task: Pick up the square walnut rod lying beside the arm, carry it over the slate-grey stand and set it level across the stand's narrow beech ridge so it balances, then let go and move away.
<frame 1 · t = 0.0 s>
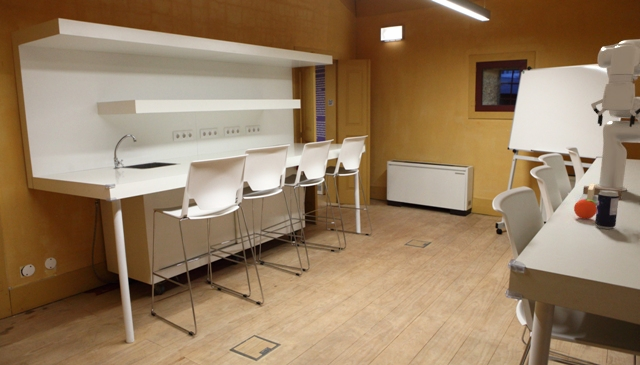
hand: (615, 126, 174), 31 cm above the table, tool pointing down, fingers open, 9 cm apart
walnut rod: (601, 197, 199), on the table
ridge stand: (590, 200, 190), on the table
beverage can: (604, 227, 151), on the table
tomato: (585, 219, 161), on the table
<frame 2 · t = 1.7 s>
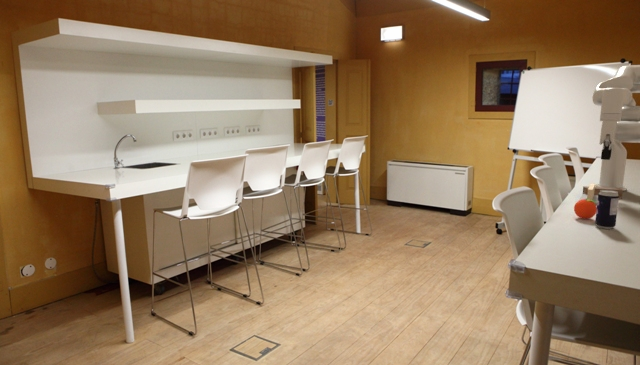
hand: (605, 158, 196), 17 cm above the table, tool pointing down, fingers open, 9 cm apart
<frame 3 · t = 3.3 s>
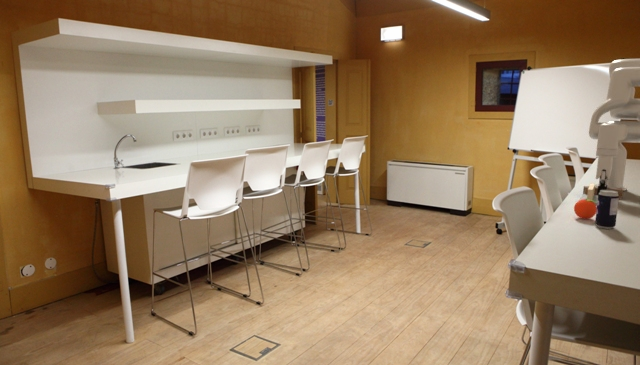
hand: (601, 194, 198), 1 cm above the table, tool pointing down, fingers open, 6 cm apart
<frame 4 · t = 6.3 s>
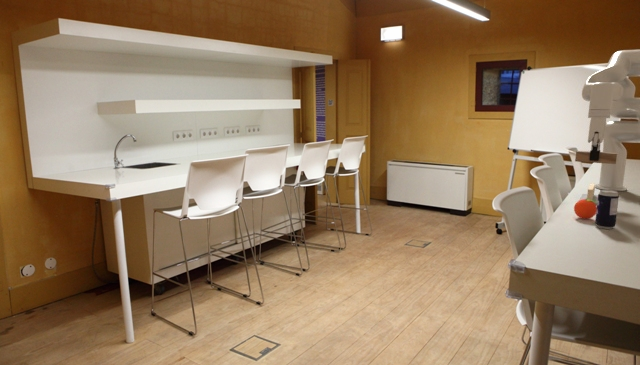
hand: (594, 159, 186), 17 cm above the table, tool pointing down, fingers closed on walnut rod, 4 cm apart
walnut rod: (595, 162, 186), point 16 cm above the table, touching gripper
everything else where it was.
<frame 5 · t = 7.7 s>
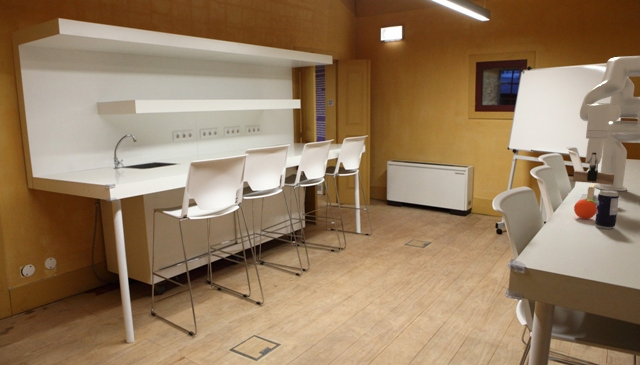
hand: (592, 179, 187), 9 cm above the table, tool pointing down, fingers closed on walnut rod, 4 cm apart
walnut rod: (592, 182, 187), point 8 cm above the table, touching gripper
everything else where it was.
when the fingers open (7 cm above the table, at t = 8.8 s): walnut rod stays where it is, resting on ridge stand.
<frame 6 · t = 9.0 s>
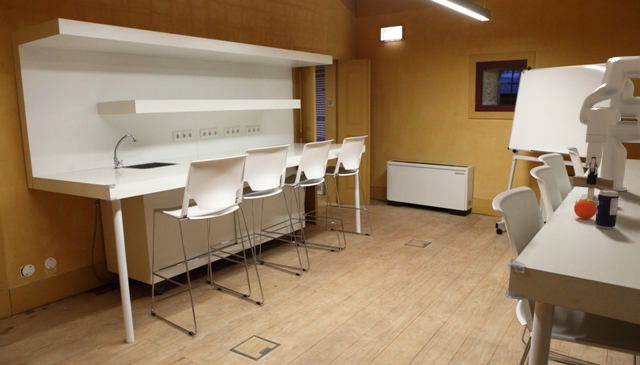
hand: (591, 182, 187), 8 cm above the table, tool pointing down, fingers open, 6 cm apart
walnut rod: (592, 187, 187), point 6 cm above the table, touching ridge stand
everything else where it was.
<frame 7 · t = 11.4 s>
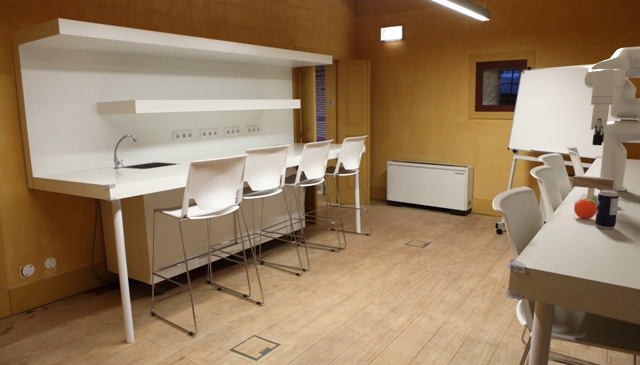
hand: (597, 143, 186), 24 cm above the table, tool pointing down, fingers open, 9 cm apart
nothing on the table moved.
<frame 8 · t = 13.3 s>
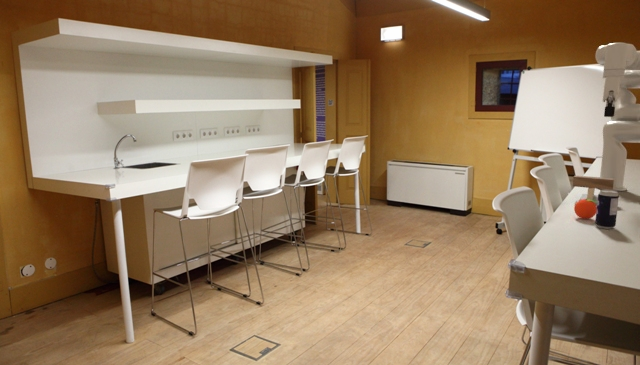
hand: (609, 116, 192), 34 cm above the table, tool pointing down, fingers open, 9 cm apart
nothing on the table moved.
at the end: walnut rod inside the target area on the ridge stand (2.0 cm from its centre), point 6.0 cm above the ridge stand's base; walnut rod tilted 0°; walnut rod touching ridge stand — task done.
